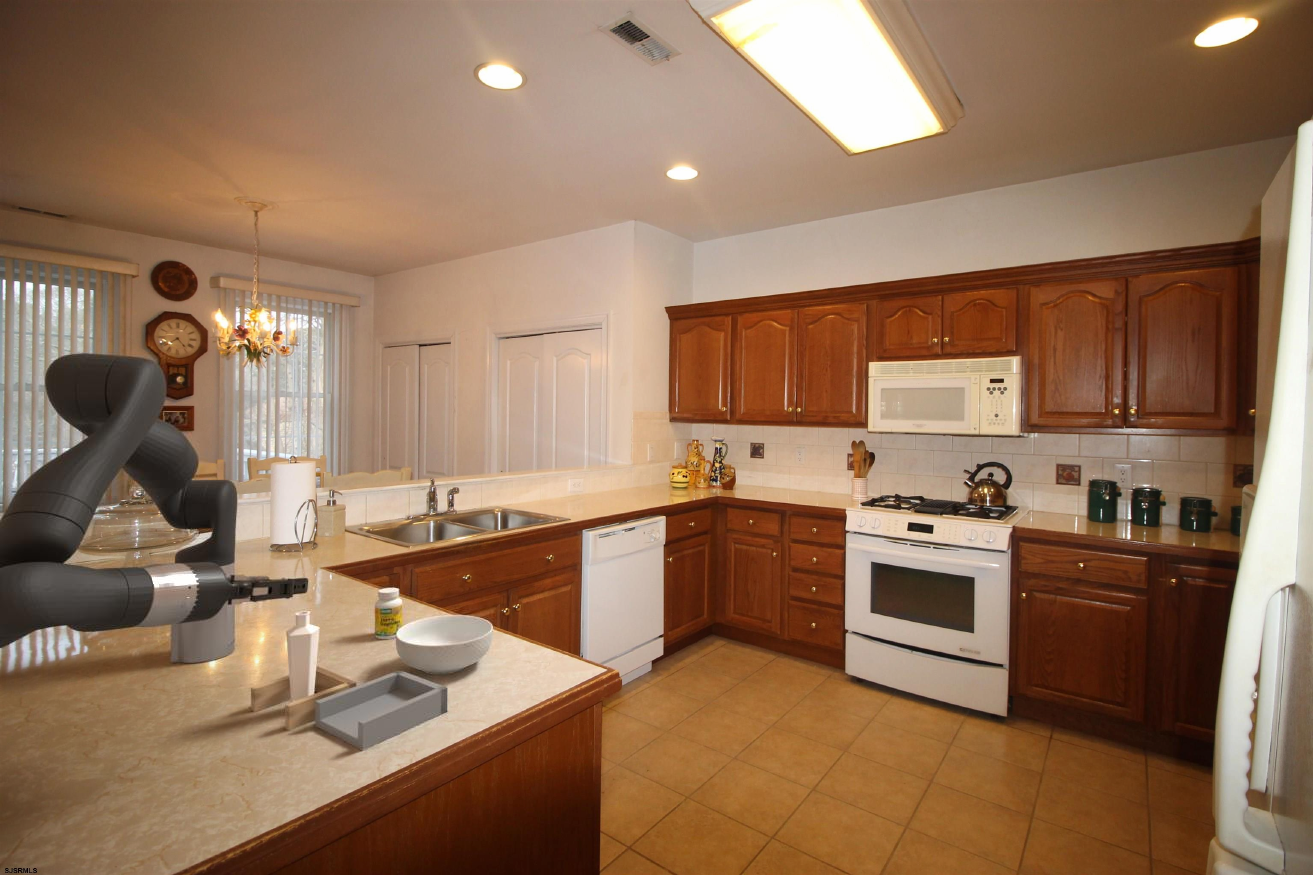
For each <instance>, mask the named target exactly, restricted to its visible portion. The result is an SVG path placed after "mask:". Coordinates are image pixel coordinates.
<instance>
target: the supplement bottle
mask: <svg viewBox="0 0 1313 875" xmlns="http://www.w3.org/2000/svg"><path fill="white" fill-rule="evenodd" d="M399 596H400V589H399V588H396V587H384V588H382V589H381V588H380V589H379V590H378V592H377V597H378V600H376V601H375V603H374V637H375V638H376V639H379V640H390V639H391V640H393V639H396V633H397V631H398V630H399V629H400V628H401V627H403V626H404V625H403V624H404V623H403V622H404V621H403V614H404V613H403V607H404V606H403V600H402V599H401V598H400V597H399Z"/></svg>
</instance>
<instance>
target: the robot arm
mask: <svg viewBox="0 0 1313 875" xmlns="http://www.w3.org/2000/svg"><path fill="white" fill-rule="evenodd" d="M44 375H45V376H44V384H45V385H44V386H45V393H46V395H47V398H48V401H49V402H50V405H51V406H52V408H53V409H54V410H55V412H56V413H57V414H58V415H59V417H61V418H62V419H63V420H64V421H65V422H66V423H68V424H69V425H70V426H71V427H73V428H75V429H76V430H78V432H81V433H82V434H83V435H84V436H86V438H84V439H82V440H81V441H80V442H78V443H77V444H76V445H74V446H72V447H71V448H69V449H67V450H66V451H64V452H62V453H60V454H59V455H58V456H56V457H55V458H53V459H51V460H49V461H48V462H46V463H45V464H44V465H42V466H41V467H39V468H38V469H36V471H34V472H33V473H32V474H31V475H30V476H29V477H28V478H27V479H26V480H25V481H24V482H23V483H22V484H21V485H20V487H19V488H18V490H17V491H16V492H15V494H14V495H13V498H12V499H11V501H10V503H9V505H8V506H7V508H6V510H5V512H4V513H3V515H2V517H1V519H0V649H2V648H5V647H7V646H9V645H11V644H13V643H15V642H17V641H18V640H20V639H22V638H24V637H26V636H28V635H30V634H32V633H34V632H35V631H40V630H45V629H50V628H55V627H65V626H66V627H68V628H69V629H70V630H73V631H76V632H82V633H95V632H96V633H97V632H104V631H105V632H106V631H113V630H122V629H129V628H130V629H131V628H155V627H163V626H170V663H182V664H183V663H184V664H186V663H187V664H188V663H189V664H192V663H195V664H196V663H201V662H202V663H203V662H208V661H213V660H216V659H220V658H224V657H226V656H229V655H230V654H232V653H233V652H234V651H235V649H236V648H235V646H236V631H235V630H236V620H235V619H236V618H235V617H236V606H237V605H242V604H243V603H257V602H265V601H270V600H271V601H272V600H280V599H286V600H289V599H290V598H292V599H293V596H294V595H302V594H306V593H307V592H308V589H309V579H308V578H307V577H298V578H296V577H295V578H286V577H281V578H270V577H269V576H268V575H245V574H242V573H241V574H236V572H235V571H236V570H235V569H236V566H235V564H236V563H235V562H236V554H235V553H236V538H237V537H236V536H237V533H236V532H237V531H236V530H237V517H238V516H237V513H238V491H237V487H236V485H235V483H234V482H233V481H231V480H229V479H194V477H195V475H196V474H197V472H198V469H199V465H200V464H199V462H200V460H199V456H198V453H197V451H196V449H195V448H194V446H193V445H192V443H191V441H190V440H189V439H188V437H186V435H185V434H184V433H183V431H182V430H180V429H179V428H177V427H176V426H174V425H172V424H171V423H169V422H168V421H164V420H163V419H160V418H159V416H160V415H161V413H162V411H163V408H164V406H165V402H166V397H167V381H166V377H165V374H164V371H163V369H162V367H161V366H160V365H159V364H158V363H157V362H156V361H154V360H152V359H149V358H147V357H140V356H133V355H132V356H131V355H130V356H129V355H117V354H115V355H114V354H102V353H101V354H100V353H89V352H85V353H82V352H81V353H72V354H65V355H62V356H59V357H58V358H56V359H54V360H53V361H52V362H51V363H50V365H49V366H48V368H47V369H46V373H45V374H44ZM121 470H123V471H124V472H125V473H126V474H127V475H128V476H129V477H130V478H131V479H132V480H133V481H134V483H135V482H136V484H138V485H139V487H141V489H143V490H144V491H145V493H146V494H147V496H149V498H150V499H151V500H152V502H153V503H154V504H155V506H156V507H157V509H158V510H159V512H160V515H162V517H163V518H164V520H165V521H166V523H167V524H169V525H170V526H171V527H173V528H174V529H179V530H206V529H210V530H211V529H212V530H211V535H210V537H209V538H207V539H206V540H204V541H202V542H199V543H196V544H194V545H191V546H187V547H185V548H182V549H180V550H178V551H177V552H176V554H174V555H175V556H174V563H173V562H172V563H156V564H155V563H153V564H147V565H141V566H134V567H133V566H132V567H131V566H130V567H129V566H128V567H107V568H103V567H102V568H93V567H88V566H84V565H76V564H68V563H65V562H67V561H69V559H71V558H72V556H74V554H75V553H76V552H77V550H78V549H79V547H80V546H81V543H82V542H83V539H84V537H85V535H86V533H87V531H88V529H89V527H90V524H91V523H92V521H93V518H94V515H95V514H96V511H97V509H98V508H99V507H98V506H99V505H100V502H101V500H102V499H103V497H104V495H105V493H106V492H107V491H108V488H109V487H110V486H111V484H112V482H113V481H114V480H115V478H116V477H117V475H118V474H119V472H120V471H121Z"/></svg>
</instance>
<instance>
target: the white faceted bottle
mask: <svg viewBox="0 0 1313 875" xmlns="http://www.w3.org/2000/svg"><path fill="white" fill-rule="evenodd" d="M310 614H311V611H307V610H302V611H298V612H295V613H294V615H295V625H294V626H292V627H291V628H289V629H287V630H286V631H285V633H286V634H285V636H286V647H287V648H286V649H287V661H288V675H289V677H290V691H291V699H290V700H289V703H291V702H294V701H296V700H299V699H302V698H305V697H308V696H310V695H313V694H315V691H314V688H315V676H316V666H317V662H318V661H317V660H318V653H319V652H318V649H319V640H320V639H319V638H320V627H319V626H316V625H313V624H310V617H311V616H310Z"/></svg>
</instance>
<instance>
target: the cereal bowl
mask: <svg viewBox="0 0 1313 875" xmlns="http://www.w3.org/2000/svg"><path fill="white" fill-rule="evenodd" d="M493 635H494V626H493V624H492V623H491V621H489V620H486V619H485V618H482V617H478V616H473V615H467V614H466V615H464V614H447V615H445V614H444V615H437V616H435V615H434V616H430V617H425V618H421V619H417V620H413V621H411V622H409V623H406V624H404V625H403V627H401V628H400V629H399V630H398V631H397V633H396V638H395V646H396V647H395V648H396V652H397V655H398V657H399V658H400V659H401V661H402V662H403V663H405V665H407V666H408V667H411V668H413V669H415V670H416V669H417V670H419V671H423V672H424V673H427V674H431V675H447V674H448V675H449V674H453V673H457V672H459V671H462V670H463V669H465V668H466V667H468V666H472V665H473V664H474V663H477V662H479V661H480V660H481V659H482V658H483V657H484V656H485V655H486V653H487V652H489V650H490V647H491V644H492V641H493Z"/></svg>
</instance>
